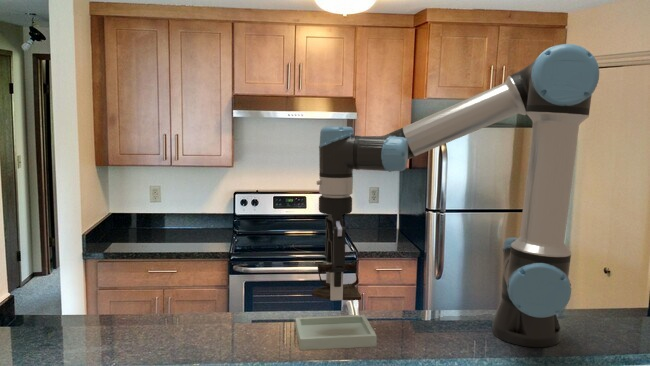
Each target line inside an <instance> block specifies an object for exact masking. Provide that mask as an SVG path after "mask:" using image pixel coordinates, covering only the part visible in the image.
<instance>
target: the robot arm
mask: <svg viewBox="0 0 650 366" xmlns="http://www.w3.org/2000/svg"><path fill="white" fill-rule="evenodd" d="M599 80H600V67H599V63H598V61H597V59H596V57H595V56H594V54H592V53H591V52H590V51H589V50H588V49H586V48H585V47H583V46H581V45H577V44H575V43H574V44H573V43H563V44H562V43H561V44H556V45H554V46H553V45H552V46H551V47H548V48H546V49H545V50H544V51H542V52H541V53H540V54H539V55H538V56H537V57H536V59H535V60H534V61H532V62H531V63H529V64H528V65H527V66H526V67H523V68H522V69H520V70H519V71H516V72H515V73H512V74H510V75H508V76H507V78H506V80H505V81H504V82H503V83H501V84H499V85H496V86H494V87H491V88H490V89H487V90H485V91H483V92H480V93H478V94H475V95H474V96H472V97H471V96H470V97H469V98H466V99H464V100H462V101H460V102H457V103H456V104H453V105H451V106H449V107H446V108H444V109H442V110H438V111H437V112H435V113H433V114H430V115H428V116H425V117H423V118H421V119H419V120H416V121H414V122H412V123H410V124H408V125H405V126H403V127H401V128H398V129H396V130H394V131H391V132H389V133H386V134H385V135H380V136H379V135H374V136H373V135H367V136H366V135H362V136H361V135H355V133H354V132H355V131H354V128H353V127H351V126H323V127H322V128H321V129H320V135H319V146H318V149H319V153H318V154H319V156H318V157H319V159H318V160H319V161H318V162H319V164H318V165H319V169H318V170H319V173H318V176H319V180H316V185H317V186H319V187H318V189H319V190H318V193H319V194H320V195H319V196H318V212H319V213H320V214H323V215H328V216H325V250H324V251H325V253H324V257H325V261H326V264H332V269H331V270H329V272H325V283H329V284H330V299H329V300H330V301H332V302H333V301H344V300H343V284H344V272H346V271H345V263H346V231H347V228H346V222H345V221H344V220H343V216H344V215H349V214H351V213H352V211H353V197H352V196H351V195H352V194H353V190H354V189H353V188H354V187H353V185H354V184H353V183H354V182H353V181H354V180H353V179H354V176H353V172H354V170H356V171H357V170H359V171H360V170H363V171H383V172H390V173H392V172H402V171H405V170H406V169H407V166H408V162H409V161H408V160H410V159H412V158H415V157H417V156H419V155H421V154H424V153H426V152H428V151H431V150H433V149H436V148H438V147H441V146H442V145H445V144H447V143H449V142H453V141H456V140H457V139H460V138H462V137H464V136H468V135H469V134H472V133H475V132H477V131H479V130H481V129H484V128H486V127H488V126H489V127H490V126H491V125H493V124H496V123H499V122H501V121H503V120H506V119H508V118H510V117H513V116H515V115H518V114H519V115H523V116H526V115H527V116H528V117H529V119H530V120H531V122H532V128H531V137H530V144H529V145H530V146H529V151H528V152H529V153H528V154H529V155H528V164H527V171H526V180H525V188H524V196H523V203H522V204H523V205H522V213H521V224H520V231H519V236H518V237H516V236H515V237H507V238H506V239H505V240H504V242H503V243H504V244H503V247H502V252H503V254H502V255H503V256H502V259H503V260H502V277H501V278H502V279H501V299H500V302H499V303H498V307H497V309H496V312H495V315H494V317H493V319H492V322H491V323H492V328H491V331H492V334H493V335H495V337H496V338H498V339H501V340H502V341H504V342H507V343H509V344H513V345H517V346H523V347H528V348H545V347H553V346H556V345H557V344H559V343H560V342H561V341H562V339H561V338H562V337H561V336H562V329H561V325H560V322H559V318H558V315H557V314H559V313H560V312H562V311H563V310H564V309H565V308H566V307H567V306H568V304H569V302H570V300H571V297H572V284H571V280H570V279H569V274H570V267H571V265H570V264H571V258H572V251H571V249H570V248H569V247H568V246H567V245H566V243H565V239H566V232H567V224H568V217H569V209H570V208H569V207H570V200H571V193H572V185H573V184H572V183H573V177H574V167H575V160H576V153H577V146H578V145H577V144H578V137H579V131H580V129H579V128H580V125H581V124H582V123H583V122H584V121H586V120H587V119H588V118H589V117H590V110H591V109H590V108H591V103H592V96H593V93H594V92H595V90H596V88H597V87H598V84H599ZM326 264H325V265H326Z"/></svg>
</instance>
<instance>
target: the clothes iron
mask: <svg viewBox="0 0 650 366" xmlns="http://www.w3.org/2000/svg"><path fill="white" fill-rule="evenodd" d="M331 269H332V264H320V263H317V272H318V273H317V274H318V277H319V281H320V283H321V286H320V287H317V288H314V289H313V291H312V292H311V297H314V298H320V299H324V300H325V299H326V300H330V284H329V283H326V281H325V282H324V281H323V280H322V277H321V274H322V273H326V272H329V270H331ZM348 271H353V272H354V273H355V277H356V280H355V281H354V282H353V283H345V284H344V283H343V300H342V301H361V300H362V295H361V294H360V292H359V290H358V288H357V286H358V284H359V277H358V274H357V265H356V261H352V262H345V272H348Z"/></svg>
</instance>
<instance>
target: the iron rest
mask: <svg viewBox="0 0 650 366" xmlns="http://www.w3.org/2000/svg"><path fill="white" fill-rule="evenodd" d="M294 326H295V332H296V336H297V342H298V347H299V351H311V350H314V351H315V350H329V349H332V350H333V349H350V348H351V349H352V348H353V349H355V348H373V347H375V348H376V347H377V340H378V339H377V337H378V336H377V333H376V332H375V330H374V328H373V327H372V325H371V323H370V322H369V320H368V318H367V316H366V314H358V315H357V314H355V315H353V314H352V315H331V316H329V315H328V316H307V317H302V316H301V317H295V325H294Z"/></svg>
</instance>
